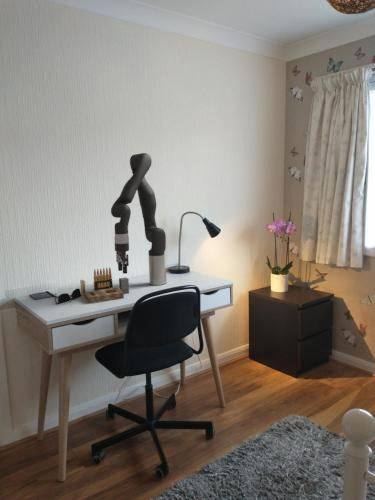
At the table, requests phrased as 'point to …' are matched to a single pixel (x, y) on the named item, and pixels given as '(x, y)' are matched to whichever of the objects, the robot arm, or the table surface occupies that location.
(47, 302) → the table surface
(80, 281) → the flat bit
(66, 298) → the sunglasses
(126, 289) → the square bit
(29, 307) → the table surface
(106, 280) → the ammunition clip
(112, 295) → the bore block
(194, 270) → the table surface
